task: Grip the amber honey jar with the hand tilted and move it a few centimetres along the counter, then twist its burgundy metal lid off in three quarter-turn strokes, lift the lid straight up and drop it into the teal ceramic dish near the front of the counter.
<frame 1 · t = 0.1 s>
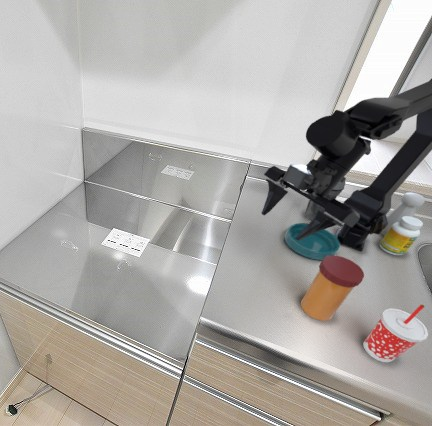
hand: (279, 226, 63), 15 cm above the worktop, tool tilted 35°, fingers open, 9 cm apart
dish: (308, 245, 79), on the worktop
lid: (341, 269, 56), point 12 cm above the worktop, screwed on, not yet turned
supplement bottle: (390, 249, 78), on the worktop
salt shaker: (388, 234, 82), on the worktop
beverage cup: (313, 217, 90), on the worktop
beverage cup 2: (377, 351, 56), on the worktop
jar: (316, 308, 63), on the worktop
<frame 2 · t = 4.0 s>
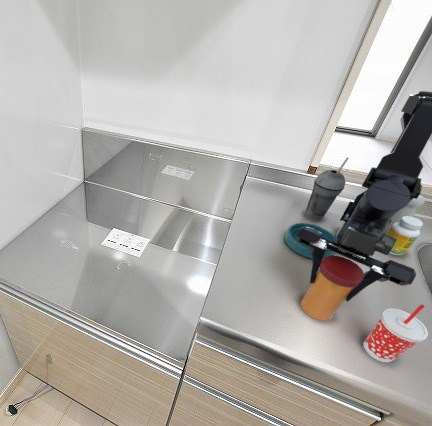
hand: (328, 291, 58), 7 cm above the worktop, tool tilted 45°, fingers closed on jar, 6 cm apart
jar: (316, 308, 63), on the worktop, touching gripper
everything else where it was.
when the fingers open (7 cm above the worktop, at t = 6.7 s): jar stays where it is, on the worktop.
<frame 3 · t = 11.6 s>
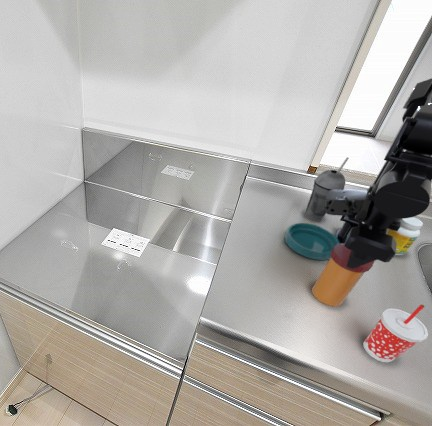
hand: (352, 256, 58), 13 cm above the worktop, tool pointing down, fingers open, 8 cm apart
lid: (352, 255, 59), point 12 cm above the worktop, screwed on, not yet turned, touching gripper
jar: (326, 295, 66), on the worktop
everything else where it was.
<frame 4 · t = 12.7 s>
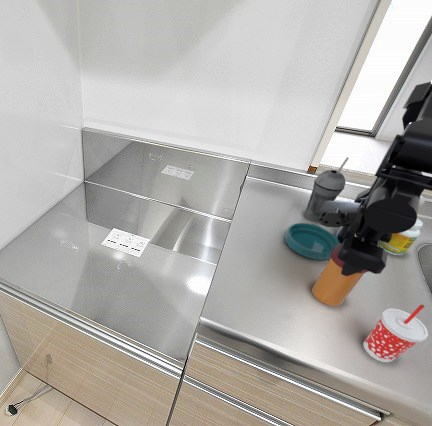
hand: (346, 265, 60), 10 cm above the worktop, tool pointing down, fingers closed on lid, 6 cm apart
lid: (352, 256, 59), point 13 cm above the worktop, screwed on, not yet turned, touching gripper
everything else where it was.
when the fingers open (9 cm above the worktop, at t = 16.1 s): lid stays where it is, point 13 cm above the worktop.
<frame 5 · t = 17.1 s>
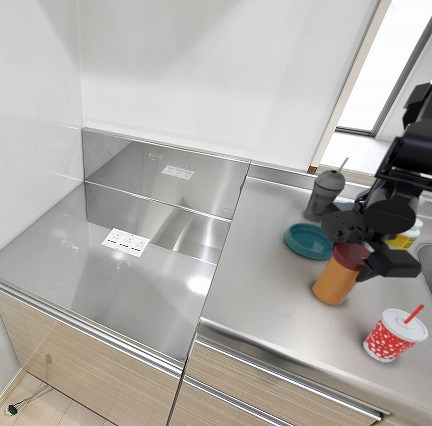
hand: (345, 266, 60), 10 cm above the worktop, tool pointing down, fingers open, 8 cm apart
lid: (354, 254, 59), point 13 cm above the worktop, turned 88° so far, risen 0.2 cm, still on its thread, touching gripper
everything else where it was.
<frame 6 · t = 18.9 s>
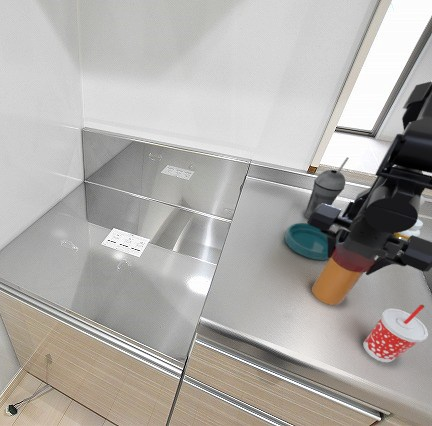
hand: (347, 264, 60), 10 cm above the worktop, tool pointing down, fingers closed on lid, 6 cm apart
lid: (353, 255, 58), point 13 cm above the worktop, off its thread, touching gripper
jar: (326, 294, 66), on the worktop, touching gripper
everything else where it was.
when the fingers open (10 cm above the worktop, at t = 19.5 s): lid stays where it is, point 12 cm above the worktop.
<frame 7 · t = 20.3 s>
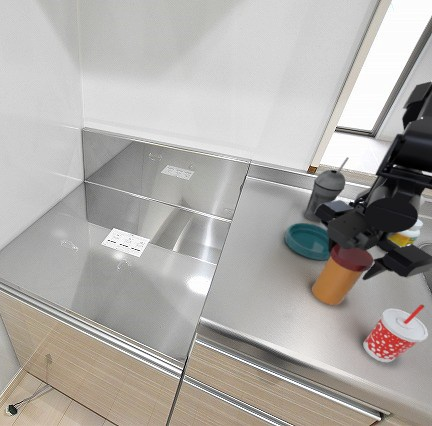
hand: (346, 265, 60), 10 cm above the worktop, tool pointing down
lid: (352, 255, 59), point 12 cm above the worktop, off its thread, touching gripper
jar: (326, 294, 66), on the worktop
everything else where it was.
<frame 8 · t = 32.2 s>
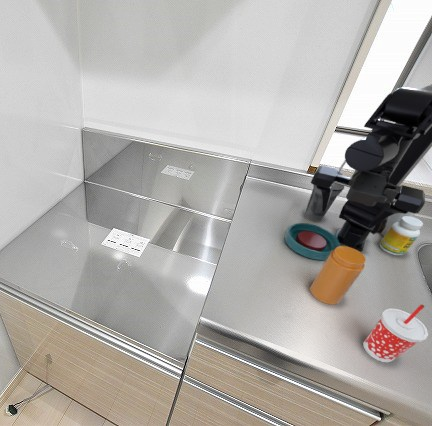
hand: (346, 218, 68), 13 cm above the worktop, tool pointing down, fingers open, 9 cm apart
lid: (311, 240, 78), point 2 cm above the worktop, off its thread, touching dish
everything else where it was.
at the end: lid inside the target area in the dish (0.0 cm from its centre), point 1.9 cm above the dish's base; the gripper is holding nothing; jar tilted 0° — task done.
